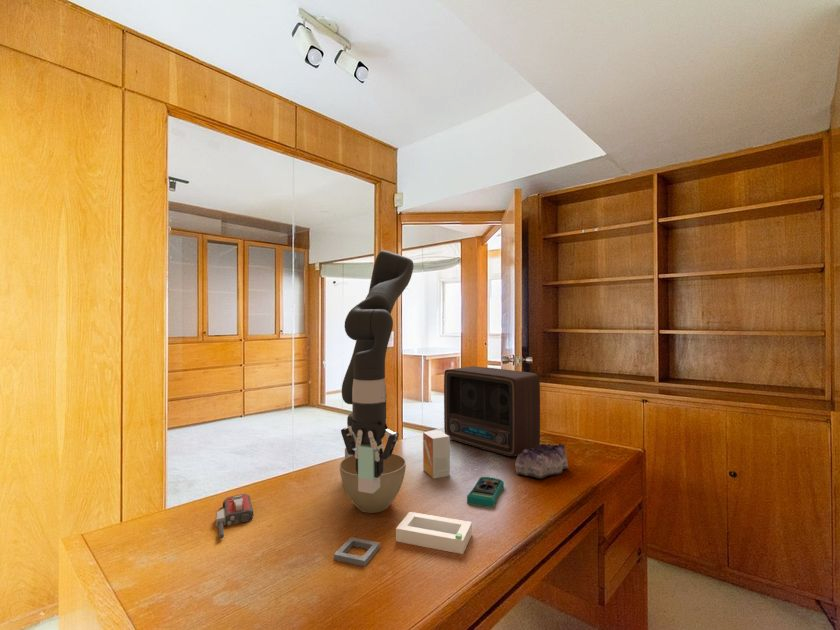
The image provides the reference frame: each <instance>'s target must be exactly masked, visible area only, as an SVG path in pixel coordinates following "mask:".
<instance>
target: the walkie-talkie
mask: <svg viewBox="0 0 840 630" xmlns="http://www.w3.org/2000/svg"><path fill="white" fill-rule="evenodd" d="M252 519H253V520H254V510H253V504H252V501H251V497H250V495H249V494H246V493H242V494H236V495H233V496H232V495H231V496H228V497H227V498H225V499H224V500H223V502H222V509H220V510H218V511H217V512H216V518H215V528H218V538H220V539H223V538H225V534H224V533H225V532H224V530H225V529H224V526H231V524H232V525H236V524H241V523H247V522H250V520H251V521H253V520H252ZM223 525H224V526H223ZM218 526H219V527H218Z"/></svg>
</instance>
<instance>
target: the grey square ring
mask: <svg viewBox="0 0 840 630" xmlns="http://www.w3.org/2000/svg"><path fill="white" fill-rule="evenodd" d="M353 547H356V548H362V549H366V550H367V551H366V552H365V553H364V554H363V555H362V556H361V555H356V554H350V553H348V552H349V551H350V550H351V549H352V548H353ZM380 549H381V543H380V542H378V541H372V540H368V539H362V538H357V537H352V536H351V537H349V539H348V540H347V541H346V542H344V543H343V545H342V546H341V547H340V548H339V549H338V550H336V552H334V554H333V561H338V562H342V563H346V564H351V565H355V566H361V567H366V566H367V564H369V562H370V561H371V560H372V559H373V557H375V555H376V554H377V552H378V551H379V550H380Z"/></svg>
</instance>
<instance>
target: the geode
mask: <svg viewBox="0 0 840 630" xmlns="http://www.w3.org/2000/svg"><path fill="white" fill-rule="evenodd" d="M565 447H566V446H565V444H564V443H560V442H559V443H558V444H555V445H552V444H551V443H548V444H544V443H540V444H539V446H537V447H534V448H530V449H528V450H527V449H525V450H523V453H520V454H519V455H517V457H516V459H515V464H514V467H515V471H516V475H522V476H525V477H526V476H527V477H532V478H535V479H544V478H547V477H548V476H557V475H562V474H563V471H564V470H568V469H569V465H568V455H567V451H566V448H565Z"/></svg>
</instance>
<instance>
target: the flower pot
mask: <svg viewBox="0 0 840 630" xmlns="http://www.w3.org/2000/svg"><path fill="white" fill-rule="evenodd" d="M406 462H407V461H406V459H405V458H404V457H403V456H401V455H399V454H398V453H393V452H392V455H391V456H390V457H388V458H387V459H386V460H383V473H382V474H381V476H380V488H379V489H378V490H376V491H375V492H374V493H373V494H372V493H366V492H360V491H358V472H356V458H355V456H353V455H352V456H350V457H347V458H345V457H344V459H343V460H341V461H340V463H339V472H340V478H341V482H342V484H343V488H344V490H345V492H346V494H347V496H348V497H349V500H350V501H351V502H352V503H353V504H354V506H355V507H356V508H357V509H358V510H360V511H361V512H363V513H369V514H375V513H381V512H383V511H385V510H387V509H388V508H389V507H390V506H391V504H392V503H393V502H394V501H395V499H396V497H397V496H398V494H399V492H400V490H401V488H402V485H403V482H404V478H405V473H406V465H407V463H406Z"/></svg>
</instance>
